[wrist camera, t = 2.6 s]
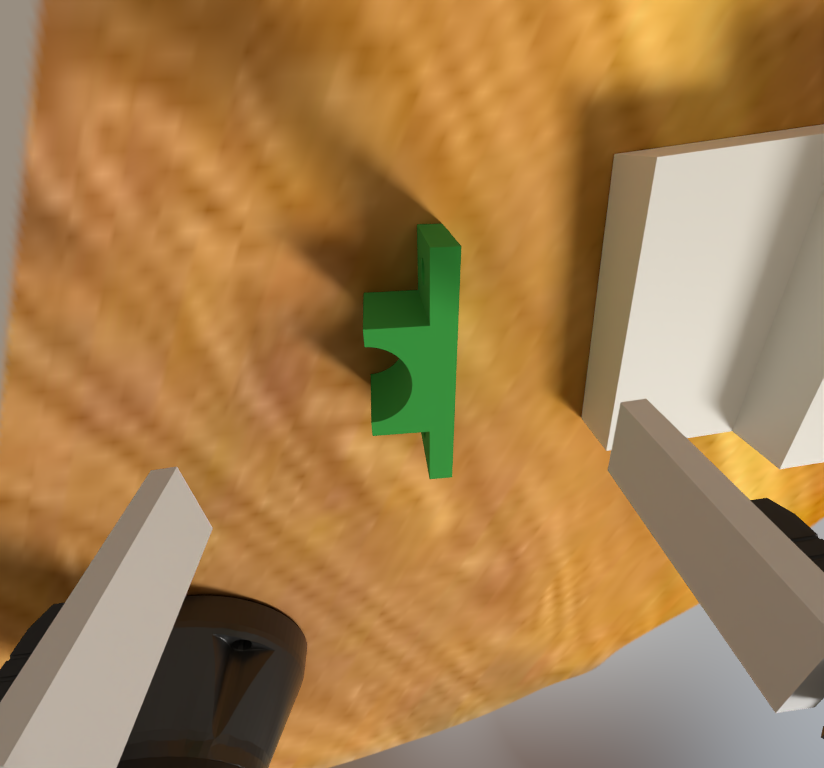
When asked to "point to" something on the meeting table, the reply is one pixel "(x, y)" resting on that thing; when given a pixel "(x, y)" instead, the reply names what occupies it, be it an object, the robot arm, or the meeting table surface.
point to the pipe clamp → (419, 350)
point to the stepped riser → (716, 292)
